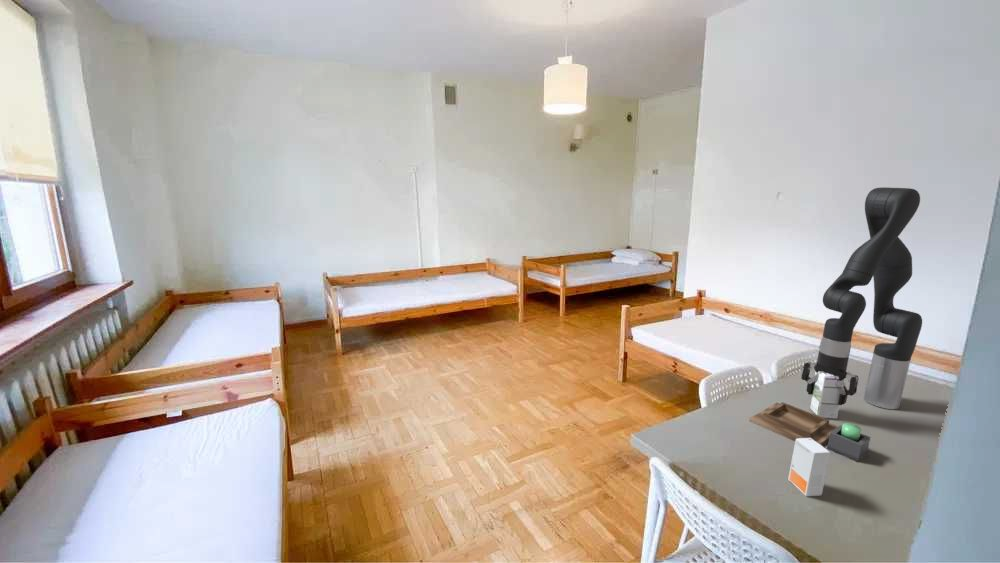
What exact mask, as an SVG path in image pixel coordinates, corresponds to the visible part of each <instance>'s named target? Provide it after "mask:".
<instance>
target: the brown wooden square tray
mask: <svg viewBox="0 0 1000 563" xmlns="http://www.w3.org/2000/svg"><path fill="white" fill-rule="evenodd" d="M749 422H750V423H753V422H754V423H753V424H755V423H756V425H757V424H758V426H760V427H762V428H765V429H766V428H767V430H769V431H771V432H773V433H775V434H778V435H781V436H782V437H785V438H787V439H790V440H791V441H793V442H795V440H796V439H797V438H812V439H813V440H814V441H816V442H817V443H819V444H820V445H822V446H823V445H824V444H825V443H827V442H828V441H829V436H830V433H831V432H832V431H833V430H835V429H836V428H837V427H839V426H840V425H836V424H834V423H832V422H830V419H829V418H822V417H820V416H817V415H816V414H815V413H811V412H809V411H807V410H804V409H802V408H799V407H796V406H794V405H791V404H788V403H786V402H780V403H779V402H776V403H773V404H771V405H770V406H768V407H766V408H765V409H763V410H761V411H760V412H758V413H757V414H754V415H753V416H751V417H750V418H749Z"/></svg>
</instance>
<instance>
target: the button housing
mask: <svg viewBox="0 0 1000 563" xmlns="http://www.w3.org/2000/svg"><path fill="white" fill-rule="evenodd" d="M838 426H839V427H837V428H836V429H835V430H833V431H832V432H831V433H830V436H829V440H828V441H827V442H828V443H827V447H826V450H828V451H831V452H833V453H835V454H838V455H841V456H843V457H844V458H848V459H849V460H852V461H854V462H856V463H858V462H859V461H861V460H862V458H863V457H865V456H866V455H867V454H868V450H869V446H870V443H871V442H870V441H871V438H872V437H871V436H870V435H869V436H868V435H867V434H863V433H861V434H860V438H859V440H858V441H853V440H851V439H848V438H846V437H843V436H841V430H842V426H843V425H838Z"/></svg>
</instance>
